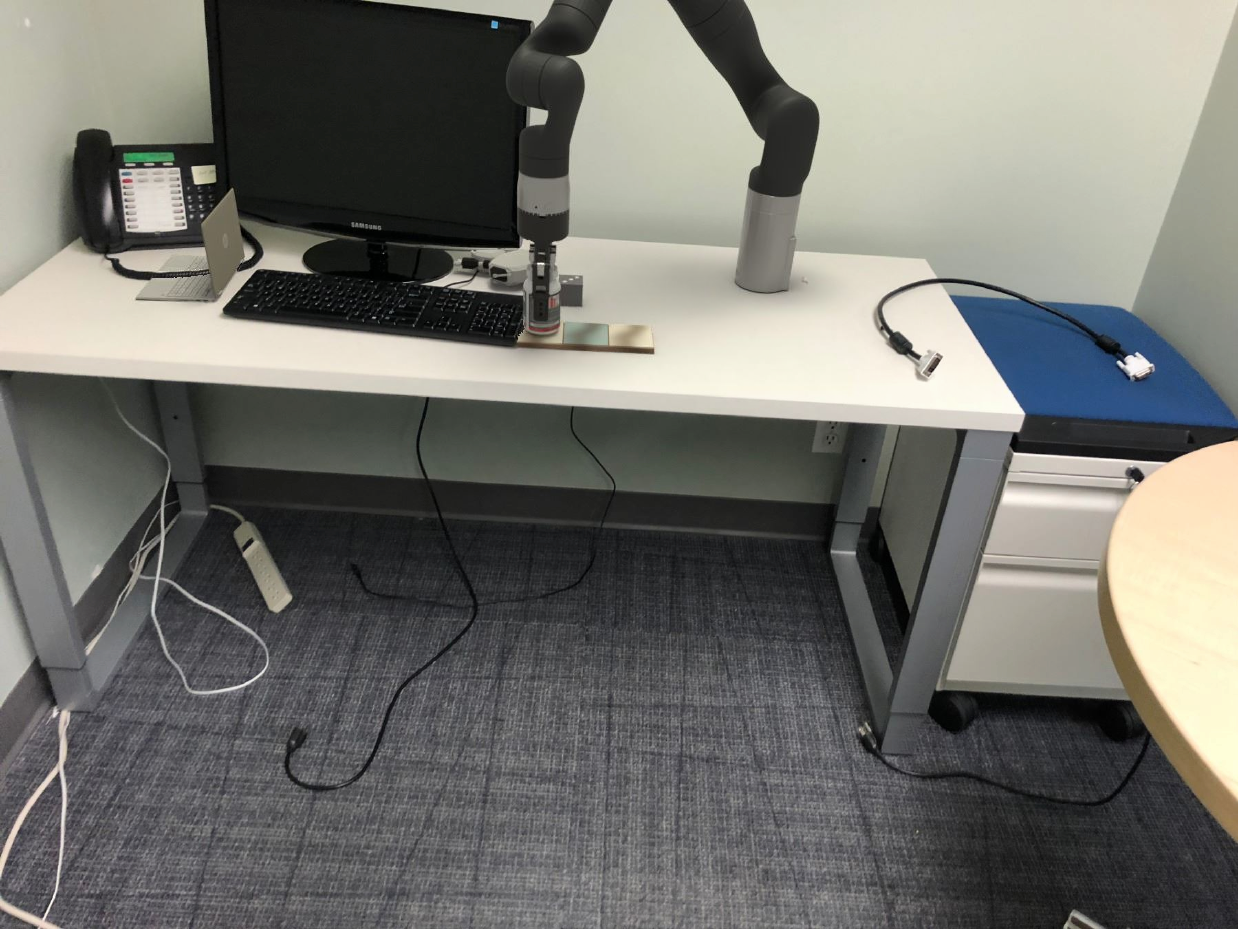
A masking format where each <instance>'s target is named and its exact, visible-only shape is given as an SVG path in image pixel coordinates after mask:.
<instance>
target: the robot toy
mask: <svg viewBox="0 0 1238 929" xmlns="http://www.w3.org/2000/svg"><path fill="white" fill-rule="evenodd" d="M529 250H530V249H526V248H525V249H517V250H512V251H508V252H507V251H506V250H505V251H504V250H475V249H472V250H470V257H466V256H464V257H462V259H461V258H458V259H455V260H454V261H453V266H456V267H460V266H461V269H462V270H474V269H477V271H478V272H481V273H485V274H486V273H489V274H488V275H489V276H490V278H491V279H492V280H493V281H496V282H500V283H501V284H503V285H505V286H507V287H515V286H517V285H518V284H521V283H524V282H525V280H526V279H527V278H528V277H527V275H526V270H527V266H528V265H529V264H530V261H529Z"/></svg>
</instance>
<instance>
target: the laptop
mask: <svg viewBox="0 0 1238 929" xmlns="http://www.w3.org/2000/svg"><path fill="white" fill-rule="evenodd" d="M234 191H235V190H234V188H233V187H232V188H231V189H230V190H229V191H228V192H227V193H226V194H225V196H224V197H223V198H222V199H221V200H220V202H219V203H217V205H216V206H215V208H214V209H213V210H212V211H211V212H210V213H209V214H208V215H207V217H206V218H205V219H204V220H203V222H202V223H201V224H200V229H201V230H200V231H201V234H202V239H203V245H204V250H205V255H184V254H183V255H182V254H181V255H178V254H172V255H170V256H169V257H168V259H167V260H166V261H165V262H164V263H163V264H162V266H160V268H159V269H158V270H157V272H158V271H179V270H180V271H181V270H182V271H183V270H184V271H186V270H188V269H189V270H193V271H194V270H195V269H196V270H199V269H200V270H201V269H209V272H210V274H207V275H204V276H203V275H198V276H191V277H183V278H182V277H177V278H175V277H174V278H152V277H151V278H150V280H149V281H148V282H147V283H146V284H145V285H144V287H143V288H142V289H141V290H140V292H138V294H136V296H135V299H137V300H138V299H140V300H149V301H150V300H151V301H152V300H153V301H169V302H171V301H172V302H188V303H189V302H191V303H217V302H218V301H219V299H220V298H221V296H222V295H223V294H224V292H225V291H226V289H227V288H228V286H229V285H230V283H231V282H232V280H233V279H234V277H235V275H236V274H237V272H238V271H237V268H238V267H239V265H240V264H241V263H242V264H243V263H245V257H246V256H245V250H244V244H243V237H242V232H241V225H240V220H239V213H238V208H237V201H236V196H235V192H234ZM196 270H195V271H196Z"/></svg>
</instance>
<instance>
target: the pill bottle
mask: <svg viewBox="0 0 1238 929" xmlns="http://www.w3.org/2000/svg"><path fill="white" fill-rule="evenodd" d="M558 270H559V268H558V265H556V264H554V275H553V282H551V283H550V297H549V311H548V320H547V321H535V320H534V299H532V296H531V293H532V281H531V280H530V264H529V265H528V266H527V270H526V275H527V277H528V278H527V279H526V280H525V282H523V286H522V294H523V295H522V296H523V297H522V301H523V302H522V307H523V308H522V309H523V310H522V314H523V315H522V316H523V317H522V318H523V319H522V320H523V325H524V328H525V329H526V330H527V331H529V332H531V333H533V334H539V335H546V334H551V333H554V332H556V331H557V330H558V329H559V327H560V322H561V306H560V304H561V285H560V282H559V279H557V278H558V277H559V271H558ZM549 275H550V271H549ZM536 290H546V287H545V286H536Z"/></svg>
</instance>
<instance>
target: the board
mask: <svg viewBox="0 0 1238 929" xmlns="http://www.w3.org/2000/svg"><path fill="white" fill-rule="evenodd" d="M653 334H654V333H653V327H652V325H641V324H624V323H622V324H620V323H617V324H616V323H603V322H602V323H601V322H596V323H595V322H576V321H575V322H574V321H560V327H559V329H558V330H557V331H556V332H554V333H551V334H546V335H539V334H533V333H531V332H529V331H527V330H526V329H524V330H523V333H522V332H521V334H519V335H520V336H518V335H517V337H518V340H517V339H516V349H517V348H519V349H540V350H562V351H563V350H564V351H587V352H604V353H605V352H606V353H630V354H649V355H650V354H651V355H652V354H653V355H654V354H655V343H654V342H655V341H654V335H653Z"/></svg>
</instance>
